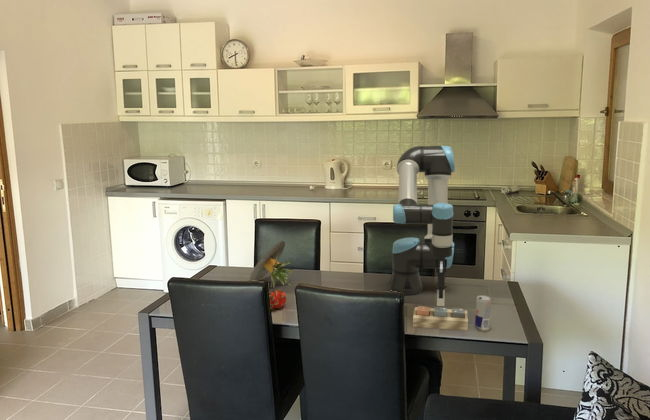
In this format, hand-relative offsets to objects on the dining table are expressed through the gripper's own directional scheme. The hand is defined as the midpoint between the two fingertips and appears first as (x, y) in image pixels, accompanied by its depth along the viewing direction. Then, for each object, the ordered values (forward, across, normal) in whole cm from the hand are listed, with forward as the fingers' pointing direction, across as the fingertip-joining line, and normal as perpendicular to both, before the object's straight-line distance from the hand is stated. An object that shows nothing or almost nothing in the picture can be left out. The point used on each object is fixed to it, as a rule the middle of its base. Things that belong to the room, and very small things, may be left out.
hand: (440, 305), depth 204 cm
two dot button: (+4, 0, +7) cm, 8 cm away
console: (+7, 0, 0) cm, 7 cm away
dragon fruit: (+7, -4, -67) cm, 68 cm away
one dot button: (+4, 0, -6) cm, 8 cm away
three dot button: (+4, 0, 0) cm, 4 cm away
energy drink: (+7, +2, +15) cm, 17 cm away
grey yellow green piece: (+7, -32, -78) cm, 84 cm away
